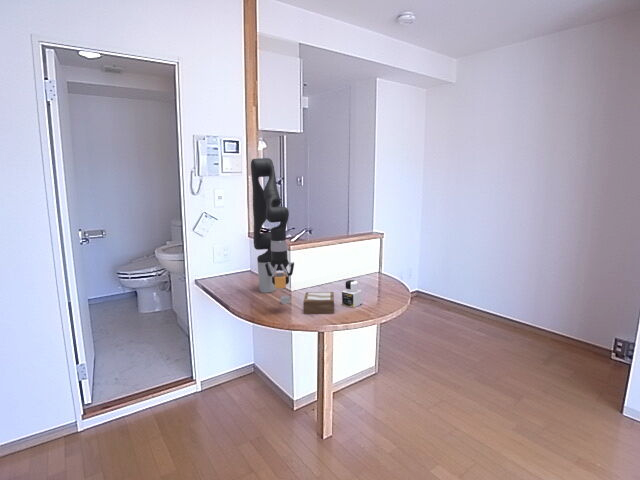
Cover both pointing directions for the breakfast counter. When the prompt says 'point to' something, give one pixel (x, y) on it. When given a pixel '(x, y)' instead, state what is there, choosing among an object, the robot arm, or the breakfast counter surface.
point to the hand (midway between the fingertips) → (280, 283)
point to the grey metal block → (285, 299)
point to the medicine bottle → (351, 294)
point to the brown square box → (319, 303)
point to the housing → (280, 280)
